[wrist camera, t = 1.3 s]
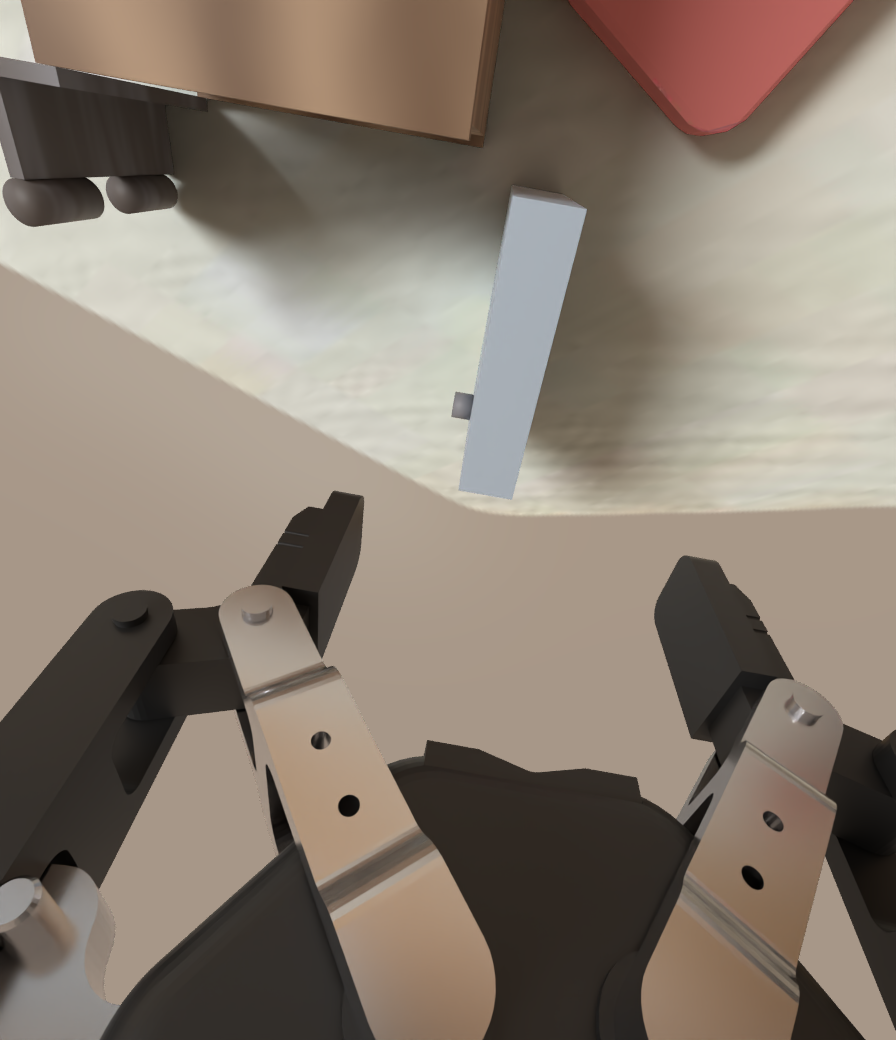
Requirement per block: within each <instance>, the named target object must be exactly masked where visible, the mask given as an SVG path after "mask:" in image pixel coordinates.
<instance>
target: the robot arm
mask: <svg viewBox="0 0 896 1040" xmlns="http://www.w3.org/2000/svg"><path fill="white" fill-rule="evenodd" d="M363 510H364V497H363V496H360V495H355V494H349V493H344V492H339V491H333V492H332V494H331V496H330V497H329V499H328V501H327V503H326V505H325V507H324V508H323V509H320V508H314V507H308V508H306V509H304V510H303V511H301V512H300V513H298V514H297V515H295V516H294V517H293V518H292V520H291V521H290V523H289V525H288V526H287V528H286V529H285V533H283V534H282V536H281V538H280V539H279V541H278V544H276V546H275V547H274V549H273V551H272V552H271V554H270V556H269V557H268V559H267V561H266V563H265V564H264V565H263V567H262V569H261V570H260V572H259V574H258V575H257V577H256V579H255V580H254V582H253V584H252V585H251V586H248V587H245V588H242V589H239V590H237V591H235V592H234V593H232V594H231V595H229V596H228V597H227V598H226V599H225V600H224V601H223V603H222V605H219V606H215V607H208V608H195V609H180V610H173V606H172V603H171V602H170V600H169V599H168V598H167V597H166V596H164V595H162V594H160V593H157V592H154V591H146V590H139V591H130V592H126V593H122V594H119V595H116V596H114V597H112V598H109V599H108V600H106V601H104V602H103V603H101V604H100V605H99V606H97V607H96V608H95V610H94V611H92V613H91V614H90V615H89V616H88V617H87V619H86V620H85V621H84V622H83V623H82V625H81V626H80V627H79V628H78V629H77V631H76V632H75V633H74V634H73V635H72V637H71V638H70V639H69V640H68V641H67V643H66V644H65V645H64V646H63V647H62V649H61V650H60V651H59V652H58V653H57V655H56V656H55V657H54V658H53V659H52V661H51V662H50V663H49V664H48V665H47V667H46V668H45V669H44V670H43V672H42V673H41V674H40V675H39V677H38V678H37V679H36V680H35V681H34V682H33V684H32V685H31V686H30V687H29V688H28V690H27V691H26V692H25V693H24V695H23V696H22V697H21V698H20V699H19V700H18V701H17V703H16V704H15V705H14V706H13V708H12V709H11V710H10V711H9V712H8V714H7V715H6V716H5V717H4V718H3V720H2V721H1V722H0V1040H865V1039H864V1038H863V1036H862V1035H861V1034H860V1033H859V1032H858V1030H857V1029H856V1028H855V1027H854V1026H853V1024H852V1023H851V1022H850V1021H849V1020H848V1018H847V1017H846V1016H845V1015H844V1014H843V1013H842V1011H841V1010H840V1009H839V1008H838V1007H837V1006H836V1004H835V1003H834V1002H833V1001H832V999H831V998H830V997H829V996H828V995H827V993H826V992H825V991H824V990H823V989H822V988H821V987H820V985H819V984H818V983H817V982H816V980H815V979H814V978H813V977H812V976H811V974H810V973H809V972H808V971H807V970H806V969H805V967H804V966H803V965H802V964H801V963H800V961H799V960H798V959H799V955H800V951H801V947H802V943H803V940H804V936H805V932H806V928H807V923H808V920H809V916H810V912H811V908H812V904H813V901H814V896H815V893H816V889H817V885H818V881H819V877H820V873H821V870H822V865H823V862H824V858H825V857H826V859H827V862H828V864H829V867H830V869H831V872H832V874H833V877H834V879H835V882H836V884H837V887H838V889H839V892H840V894H841V896H842V899H843V901H844V904H845V906H846V909H847V911H848V914H849V916H850V919H851V921H852V924H853V926H854V929H855V931H856V934H857V936H858V938H859V941H860V944H861V946H862V949H863V951H864V953H865V956H866V958H867V961H868V963H869V966H870V968H871V971H872V973H873V976H874V978H875V981H876V983H877V986H878V988H879V991H880V993H881V995H882V998H883V1000H884V1003H885V1005H886V1008H887V1010H888V1013H889V1015H890V1018H891V1020H892V1023H893V1025H894V1028H895V1030H896V730H894V731H893V732H892V733H891V734H890V735H888V736H887V737H886V738H885V739H884V740H883V741H882V740H880V739H877V738H875V737H873V736H870V735H868V734H866V733H863V732H861V731H859V730H856V729H854V728H852V727H849V726H847V725H845V724H843V722H842V720H841V717H840V715H839V714H838V712H837V711H836V709H835V708H834V707H833V706H832V704H831V703H830V702H829V701H828V700H827V699H826V698H824V697H823V696H822V695H821V694H819V693H818V692H817V691H815V690H814V689H812V688H810V687H809V686H807V685H805V684H802V683H800V682H797V681H795V680H794V678H793V677H792V675H791V673H790V671H789V669H788V668H787V666H786V664H785V662H784V661H783V659H782V657H781V655H780V653H779V651H778V649H777V648H776V646H775V644H774V642H773V640H772V639H771V637H770V635H767V632H768V631H767V629H766V627H765V626H764V624H763V622H762V621H760V616H759V615H758V613H757V611H756V609H755V607H754V606H753V604H752V602H751V600H750V599H748V597H747V596H745V595H744V594H743V593H742V592H741V591H740V590H739V589H738V588H737V587H736V586H735V585H733V584H729V582H728V580H727V578H726V576H725V574H724V572H723V570H722V568H721V566H720V565H719V563H718V562H716V561H713V560H707V559H702V558H697V557H691V556H683V557H681V558H680V559H679V561H678V562H677V564H676V566H675V568H674V570H673V572H672V574H671V575H670V577H669V579H668V581H667V583H666V585H665V587H664V588H663V590H662V592H661V594H660V596H659V598H658V600H657V603H656V606H655V613H654V619H655V625H656V628H657V631H658V635H659V638H660V641H661V644H662V647H663V650H664V653H665V656H666V660H667V663H668V666H669V669H670V673H671V676H672V679H673V682H674V685H675V688H676V692H677V695H678V698H679V701H680V705H681V708H682V711H683V714H684V717H685V720H686V724H687V727H688V730H689V733H690V736H691V738H692V739H697V740H703V741H708V742H713V744H714V747H715V751H714V752H713V754H712V755H711V756H710V758H709V759H708V761H707V763H706V765H705V766H704V768H703V770H702V772H701V774H700V776H699V778H698V780H697V782H696V783H695V785H694V787H693V789H692V791H691V793H690V794H689V796H688V798H687V800H686V802H685V804H684V806H683V808H682V810H681V811H680V813H679V815H678V817H677V818H676V819H675V818H674V817H673V816H671V815H670V814H669V813H667V812H666V811H665V810H663V809H662V808H660V807H659V806H657V805H656V804H654V803H652V802H650V801H648V800H647V799H645V798H643V797H641V795H640V790H639V785H638V781H637V778H636V777H630V776H624V775H619V774H613V773H608V772H602V771H597V770H591V769H574V770H562V771H550V772H536V773H535V772H530V771H527V770H525V769H523V768H520V767H518V766H516V765H513V764H511V763H509V762H507V761H504V760H502V759H500V758H497V757H495V756H493V755H491V754H488V753H486V752H484V751H481V750H479V749H474V748H468V747H463V746H457V745H451V744H446V743H440V742H434V741H429V740H427V744H426V748H425V753H424V756H421V757H412V758H407V759H403V760H399V761H396V762H393V763H390V764H388V765H387V764H386V762H385V760H384V758H383V756H382V754H381V752H380V750H379V748H378V747H377V745H376V743H375V741H374V739H373V737H372V735H371V733H370V731H369V729H368V727H367V725H366V723H365V721H364V719H363V717H362V715H361V713H360V711H359V709H358V707H357V705H356V703H355V701H354V700H353V697H352V696H351V694H350V692H349V690H348V688H347V686H346V684H345V682H344V680H343V678H342V676H341V674H340V673H339V671H338V670H337V669H336V668H335V667H334V666H331V667H328V668H327V667H326V666H325V664H324V663H323V661H322V657H323V655H324V652H325V649H326V647H327V644H328V642H329V639H330V636H331V633H332V631H333V628H334V626H335V623H336V620H337V617H338V615H339V612H340V610H341V607H342V605H343V602H344V599H345V597H346V594H347V591H348V589H349V586H350V583H351V581H352V578H353V576H354V573H355V570H356V567H357V564H358V560H359V555H360V550H361V538H362V524H363ZM227 710H234V713H235V716H236V720H237V723H238V726H239V729H240V733H241V736H242V739H243V742H244V745H245V749H246V752H247V755H248V758H249V761H250V765H251V768H252V771H253V774H254V777H255V781H256V785H257V788H258V792H259V797H260V802H261V806H262V810H263V814H264V818H265V821H266V825H267V828H268V832H269V835H270V838H271V841H272V844H273V847H274V851H275V854H276V857H275V858H274V859H273V860H272V861H271V862H270V863H268V864H267V865H266V866H265V867H264V868H263V869H262V870H261V871H260V872H258V873H257V874H256V875H255V876H254V877H253V878H252V879H251V880H249V882H247V883H246V884H245V885H244V886H243V887H242V888H241V889H239V890H238V891H237V892H236V893H235V894H234V895H233V896H232V897H230V898H229V899H228V900H227V901H226V902H225V903H224V904H223V905H222V906H220V907H219V908H218V909H217V910H216V911H215V912H214V913H213V914H212V915H210V916H209V917H208V918H207V919H206V920H205V921H204V922H203V923H202V924H200V925H199V926H198V927H197V928H196V929H195V930H194V931H192V932H191V933H190V934H189V935H188V936H187V937H186V938H185V939H183V940H182V941H181V942H180V943H179V944H178V945H177V946H176V947H175V948H173V949H172V950H171V951H170V952H169V953H168V954H167V955H166V956H165V957H163V958H162V959H161V960H160V961H159V962H158V963H157V964H156V965H155V966H154V967H153V968H151V969H150V971H149V972H148V973H147V974H146V975H145V976H144V977H143V978H142V979H141V980H140V981H139V982H138V984H137V985H136V986H135V987H134V988H133V990H132V991H131V992H130V993H129V995H128V996H127V997H126V999H125V1000H124V1001H123V1002H122V1004H121V1005H116V1004H111V1003H109V1002H107V1001H106V998H105V992H104V976H105V971H106V965H107V962H108V959H109V956H110V953H111V950H112V947H113V943H114V938H115V921H114V916H113V914H112V912H111V909H110V908H109V906H108V904H107V903H106V901H105V899H104V898H103V896H102V894H101V893H100V891H99V888H100V886H101V884H102V882H103V880H104V878H105V876H106V874H107V872H108V870H109V868H110V866H111V865H112V863H113V861H114V859H115V857H116V855H117V853H118V851H119V849H120V847H121V845H122V843H123V841H124V839H125V837H126V835H127V833H128V831H129V829H130V827H131V825H132V823H133V821H134V819H135V817H136V815H137V813H138V811H139V809H140V807H141V805H142V804H143V802H144V799H145V798H146V796H147V794H148V792H149V790H150V788H151V786H152V784H153V782H154V780H155V778H156V775H157V774H158V772H159V770H160V768H161V766H162V764H163V762H164V760H165V758H166V756H167V754H168V752H169V750H170V748H171V746H172V744H173V742H174V741H175V738H176V737H177V734H178V733H179V731H180V729H181V727H182V725H183V723H184V721H185V719H186V717H187V715H194V714H202V713H211V712H219V711H227Z"/></svg>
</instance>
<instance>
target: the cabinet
mask: <svg viewBox="0 0 896 1040" xmlns="http://www.w3.org/2000/svg"><path fill="white" fill-rule="evenodd" d="M21 3H22V7H23V11H24V16H25V20H26V24H27V28H28V32H29V37H30V41H31V45H32V49H33V53H34V58H35V62H36V63H32V62H26V61H21V60H15V59H10V58H4V57H0V142H1V146H2V149H3V153H4V156H5V160H6V163H7V167H8V170H9V174H10V177H12V179H9V180H7V181H6V182H5V184H4V186H3V198H4V201H5V204H6V206H7V208H8V209H9V211H10V212H11V213H12V215H13V216H14V217H15V218H16V219H17V220H19V221H20V222H21V223H23V224H25V225H27V226H31V227H37V226H44V225H51V224H59V223H66V222H73V221H80V220H88V219H95V218H98V217H100V216H101V215H102V213H103V211H104V200H103V197H102V194H101V192H100V190H99V189H98V187H97V186H96V185H95V184H94V183H93V182H92V181H90V180H89V179H87V178H85V177H110V176H111V177H110V178H109V179H108V180H107V183H106V192H107V196H108V198H109V200H110V202H111V203H112V204H113V206H114V207H115V208H116V209H118V210H119V211H121V212H123V213H126V214H131V213H139V212H146V211H153V210H161V209H168V208H172V207H173V206H175V204H176V202H177V199H178V194H177V190H176V187H175V185H174V183H173V182H172V181H171V180H170V179H169V178H168V177H167V176H165V175H164V174H174V170H173V162H172V155H171V147H170V140H169V132H168V125H167V117H166V110H165V105H171V106H177V107H183V108H189V109H195V110H201V111H207V101H206V98H207V99H213V100H218V101H224V102H229V103H235V104H241V105H246V106H252V107H257V108H263V109H269V110H274V111H280V112H285V113H291V114H296V115H302V116H308V117H313V118H319V119H324V120H330V121H335V122H341V123H347V124H352V125H358V126H363V127H369V128H375V129H380V130H386V131H391V132H397V133H402V134H408V135H414V136H419V137H425V138H430V139H436V140H442V141H447V142H453V143H458V144H464V145H469V146H475V147H481V148H483V144H484V138H485V131H486V124H487V118H488V111H489V104H490V98H491V91H492V85H493V78H494V71H495V65H496V58H497V51H498V45H499V38H500V31H501V25H502V18H503V11H504V5H505V0H21ZM37 63H40V64H37ZM43 64H45V65H43ZM49 65H50V66H49ZM59 67H60V68H59ZM64 68H65V69H64ZM69 69H71V70H69ZM73 70H76V71H73ZM78 71H82V72H78ZM83 72H88V73H93V74H99V75H104V76H110V77H116V78H121V79H127V80H132V81H138V82H143V83H149V84H155V85H160V86H166V87H171V88H177V89H182V90H188V91H194V92H197V95H198V97H197V96H193V95H188V94H183V93H178V92H174V91H169V90H164V89H159V88H155V87H150V86H145V85H140V84H135V83H131V82H126V81H121V80H116V79H112V78H107V77H102V76H97V75H92V74H88V73H83ZM207 112H208V111H207Z"/></svg>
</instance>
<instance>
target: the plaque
mask: <svg viewBox="0 0 896 1040" xmlns="http://www.w3.org/2000/svg"><path fill="white" fill-rule="evenodd" d="M568 1H569V3H570V5H571V6H572V7H573V8H574V10H575V11H576V12H577V13H578V14H579V15H580V17H581V18H582V19H583V20H584V21H585V22H586V23H587V25H588V26H589V27H590V28H591V29H592V30H593V32H594V33H595V34H596V35H597V36H598V37H599V38H600V40H601V41H602V42H603V43H604V44H605V45H606V47H607V48H608V49H609V50H610V51H611V52H612V53H613V55H614V56H615V57H616V58H617V59H618V60H619V62H620V63H621V64H622V65H623V66H624V67H625V68H626V70H627V71H628V72H629V73H630V74H631V75H632V77H633V78H634V79H635V80H636V81H637V82H638V83H639V85H640V86H641V87H642V88H643V89H644V90H645V92H646V93H647V94H648V95H649V96H650V97H651V98H652V100H653V101H654V102H655V103H656V104H657V105H658V107H659V108H660V109H661V110H662V111H663V112H664V113H665V115H666V116H667V117H668V118H669V119H670V120H671V122H672V123H673V124H674V125H675V126H676V127H677V128H679V129H680V130H682V131H683V132H684V133H686V134H691V135H697V136H704V135H710V134H715V133H721V132H727V131H729V130H730V129H732V128H734V127H735V126H737V125H738V124H740V123H742V122H743V121H745V120H746V119H747V118H748V117H749V116H750V115H751V114H752V113H753V111H754V110H755V109H756V108H757V107H758V106H759V105H760V104H761V103H762V101H763V100H764V99H765V98H766V97H767V96H768V95H769V94H770V93H771V91H772V90H773V89H774V88H775V87H776V86H777V85H778V84H779V83H780V81H781V80H782V79H783V78H784V77H785V76H786V75H787V74H788V73H789V72H790V70H791V69H792V68H793V67H794V66H795V65H796V64H797V63H798V62H799V60H800V59H801V58H802V57H803V56H804V55H805V54H806V53H807V52H808V50H809V49H810V48H811V47H812V46H813V45H814V44H815V43H816V42H817V40H818V39H819V38H820V37H821V36H822V35H823V34H824V33H825V32H826V30H827V29H828V28H829V27H830V26H831V25H832V24H833V23H834V22H835V21H836V19H837V18H838V17H839V16H840V15H841V14H842V13H843V12H844V11H845V9H846V8H847V7H848V6H849V5H850V4H851V3H852V2H853V1H854V0H568Z"/></svg>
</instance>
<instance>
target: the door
mask: <svg viewBox="0 0 896 1040" xmlns="http://www.w3.org/2000/svg"><path fill="white" fill-rule="evenodd" d="M586 212H587V209H586V208H584V207H583V206H581V205H579V204H578V203H576V202H574V201H573V200H571V199H569V198H568V197H566V196H564V195H563V194H559V193H554V192H548V191H543V190H537V189H531V188H526V187H520V186H515V185H512V187H511V192H510V198H509V203H508V209H507V214H506V220H505V225H504V230H503V236H502V241H501V247H500V252H499V258H498V263H497V269H496V274H495V280H494V285H493V291H492V296H491V302H490V307H489V313H488V318H487V324H486V329H485V334H484V340H483V345H482V351H481V356H480V362H479V367H478V373H477V378H476V384H475V389H474V395H472V394H466V393H460V392H456V393H455V398H454V403H453V409H452V416H451V417H455V418H461V419H467V420H469V425H468V432H467V438H466V445H465V451H464V458H463V464H462V471H461V477H460V484H459V490H460V491H466V492H471V493H477V494H483V495H489V496H494V497H500V498H506V499H511V500H512V497H513V493H514V489H515V485H516V481H517V478H518V474H519V470H520V466H521V462H522V458H523V454H524V451H525V447H526V443H527V439H528V435H529V431H530V427H531V424H532V420H533V416H534V412H535V408H536V404H537V400H538V397H539V393H540V389H541V385H542V381H543V377H544V373H545V370H546V366H547V362H548V358H549V354H550V350H551V347H552V343H553V339H554V335H555V331H556V327H557V323H558V320H559V316H560V312H561V308H562V304H563V300H564V296H565V293H566V289H567V285H568V281H569V277H570V273H571V269H572V266H573V262H574V258H575V254H576V250H577V246H578V242H579V239H580V235H581V231H582V227H583V223H584V219H585V215H586Z"/></svg>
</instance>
